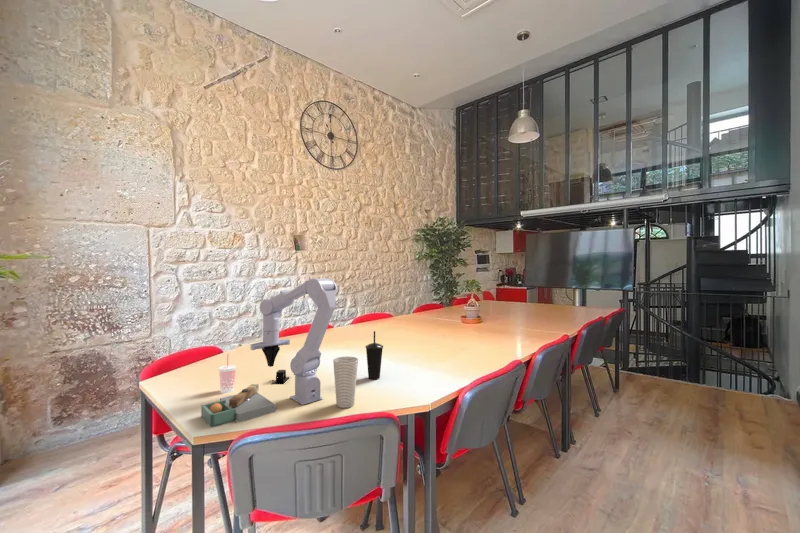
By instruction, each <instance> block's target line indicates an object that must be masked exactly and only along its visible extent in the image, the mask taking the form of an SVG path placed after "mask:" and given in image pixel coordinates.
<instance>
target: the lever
mask: <svg viewBox="0 0 800 533" xmlns="http://www.w3.org/2000/svg"><path fill="white" fill-rule="evenodd" d="M259 385H260V384H259V383H257V384H256V383H255V384H253V383H252V384H250V385H249V386H247V387H246V388H244V389H243V388H242V390H240V392H238V393H237V394H234V395H235V396H234V397H232V398H231V399H229V406H232V407H237V406H238V405H240V404H241V403H242V402H244V401H245V400H246V399H248V398H249V397H251V396H252V395H253V394H255V393H256V392H257V393H259V390H260V389H259V388H260V386H259Z"/></svg>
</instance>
